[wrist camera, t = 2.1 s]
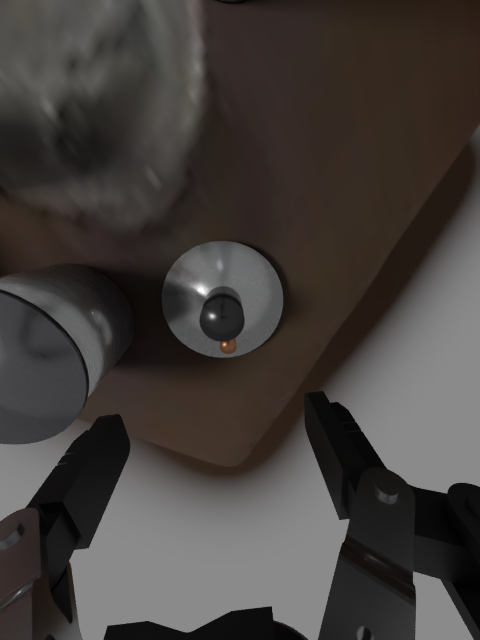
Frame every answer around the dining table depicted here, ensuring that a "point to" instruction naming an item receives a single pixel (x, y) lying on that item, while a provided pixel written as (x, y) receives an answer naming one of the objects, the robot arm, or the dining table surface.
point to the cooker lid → (222, 299)
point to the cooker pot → (56, 346)
